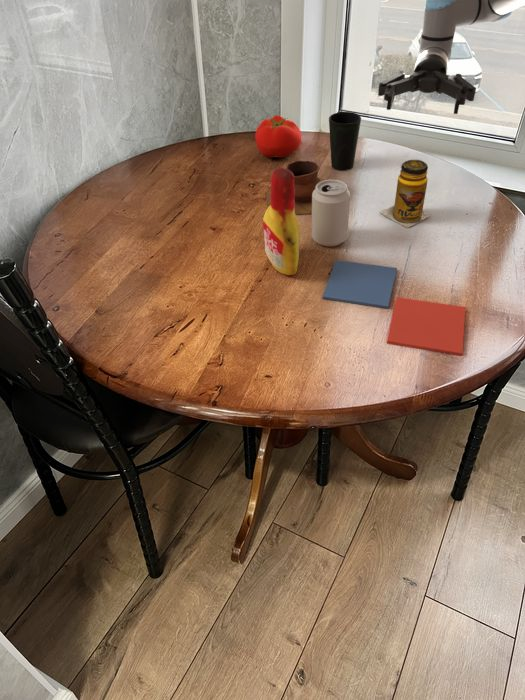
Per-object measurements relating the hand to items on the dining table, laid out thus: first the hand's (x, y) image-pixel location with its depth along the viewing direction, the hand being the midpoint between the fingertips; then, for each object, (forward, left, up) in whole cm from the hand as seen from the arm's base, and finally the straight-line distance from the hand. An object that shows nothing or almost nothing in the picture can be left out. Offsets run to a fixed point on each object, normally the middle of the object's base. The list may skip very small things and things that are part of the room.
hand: (422, 105), depth 111 cm
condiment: (0, +9, -20) cm, 22 cm away
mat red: (-8, +45, -20) cm, 50 cm away
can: (+14, +22, -20) cm, 33 cm away
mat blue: (+5, +36, -20) cm, 42 cm away
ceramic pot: (+24, +5, -20) cm, 32 cm away
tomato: (+36, -16, -20) cm, 44 cm away
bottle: (+21, +33, -20) cm, 44 cm away
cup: (+18, -12, -20) cm, 29 cm away
